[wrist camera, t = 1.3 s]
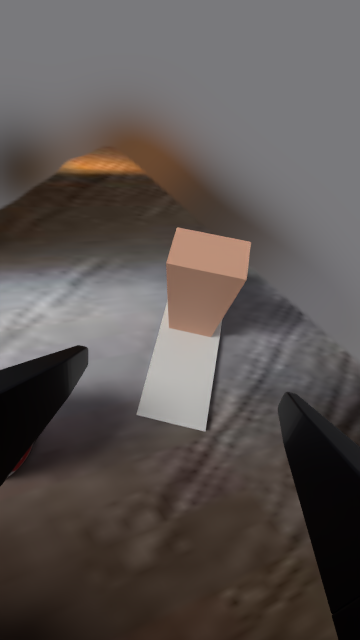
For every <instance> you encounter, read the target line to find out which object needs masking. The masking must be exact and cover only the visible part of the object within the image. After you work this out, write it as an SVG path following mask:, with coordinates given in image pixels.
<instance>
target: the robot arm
mask: <svg viewBox="0 0 360 640" xmlns="http://www.w3.org/2000/svg"><path fill="white" fill-rule="evenodd" d="M87 365H88V348H87V347H85V346H80V345H77V346H74V347H71V348H68V349H65V350H62V351H59V352H55V353H52V354H49V355H46V356H43V357H40V358H37V359H33V360H30V361H27V362H24V363H21V364H18V365H15V366H12V367H8V368H5V369H2V370H0V486H1V485H2V484H3V482H4V481H5V480H6V478H7V477H8V476H9V474H10V473H11V472H12V471H13V469H14V468H15V467H16V465H17V464H18V463H19V461H20V460H21V459H22V457H23V456H24V455H25V453H26V452H27V451H28V449H29V448H30V447H31V446H32V444H33V443H34V442H35V440H36V439H37V438H38V436H39V435H40V434H41V432H42V431H43V430H44V428H45V427H46V426H47V424H48V423H49V422H50V421H51V419H52V418H53V417H54V415H55V414H56V413H57V411H58V410H59V409H60V407H61V406H62V405H63V403H64V402H65V401H66V399H67V398H68V397H69V395H70V394H71V392H72V391H73V389H74V387H75V386H76V384H77V382H78V381H79V379H80V377H81V376H82V374H83V372H84V371H85V369H86V367H87ZM278 414H279V420H280V426H281V432H282V437H283V443H284V447H285V451H286V455H287V458H288V462H289V465H290V469H291V472H292V476H293V479H294V483H295V487H296V490H297V494H298V497H299V501H300V504H301V508H302V511H303V515H304V518H305V522H306V526H307V529H308V533H309V536H310V540H311V543H312V547H313V550H314V554H315V557H316V561H317V565H318V568H319V572H320V575H321V579H322V582H323V586H324V589H325V593H326V596H327V600H328V604H329V607H330V611H331V613H332V614H333V615H332V618H333V622H334V626H335V629H336V633H337V636H338V640H360V447H359V446H358V445H357V444H356V443H354V442H353V441H352V440H351V439H350V438H348V437H347V436H346V435H345V434H344V433H342V432H341V431H340V430H339V429H338V428H336V427H335V426H334V425H333V424H332V423H330V422H329V421H328V420H327V419H326V418H324V417H323V416H322V415H321V414H320V413H318V412H317V411H316V410H315V409H314V408H312V407H311V406H310V405H309V404H308V403H306V402H305V401H304V400H303V399H302V398H300V397H299V396H298V395H297V394H294V393H290V392H286V393H285V394H284V395H283V397H282V399H281V401H280V403H279V406H278Z"/></svg>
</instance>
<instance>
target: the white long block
mask: <svg viewBox="0 0 360 640" xmlns="http://www.w3.org/2000/svg"><path fill="white" fill-rule="evenodd" d="M221 325H222V320H221V322H220V324H219V325H218V327H217V328H216V330H215V332H214V333H213V335H212V336H211V337H208V336H203V335H199V334H194V333H190V332H185V331H181V330H176V329H172V328H169V319H168V301H167V304H166V308H165V312H164V315H163V319H162V323H161V327H160V330H159V334H158V338H157V341H156V345H155V349H154V352H153V356H152V360H151V363H150V367H149V371H148V374H147V378H146V382H145V385H144V389H143V393H142V396H141V400H140V404H139V407H138V411H137V415H139V416H143V417H147V418H151V419H155V420H160V421H164V422H168V423H172V424H176V425H180V426H184V427H188V428H193V429H197V430H201V431H205V430H206V424H207V417H208V411H209V404H210V398H211V391H212V384H213V378H214V371H215V365H216V358H217V352H218V345H219V339H220V332H221Z"/></svg>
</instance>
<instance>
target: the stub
mask: <svg viewBox="0 0 360 640" xmlns="http://www.w3.org/2000/svg"><path fill="white" fill-rule="evenodd" d="M250 246H251V242H248V241H243V240H238V239H233V238H228V237H222V236H218V235H213V234H208V233H203V232H198V231H193V230H188V229H182V228H177V229H176V233H175V236H174V239H173V243H172V246H171V249H170V253H169V256H168V259H167V263H166V267H167V293H168V319H169V328H172V329H176V330H181V331H185V332H190V333H194V334H199V335H203V336H208V337H211V336H212V335H213V333H214V332H215V330H216V328H217V327H218V325H219V324H220V322H221V320H222V319H223V317H224V315H225V314H226V312H227V311H228V309H229V307H230V306H231V304H232V303H233V301H234V299H235V298H236V296H237V295H238V293H239V291H240V290H241V288H242V286H243V285H244V283H245V282H246V280H247V272H248V263H249V254H250Z"/></svg>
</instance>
